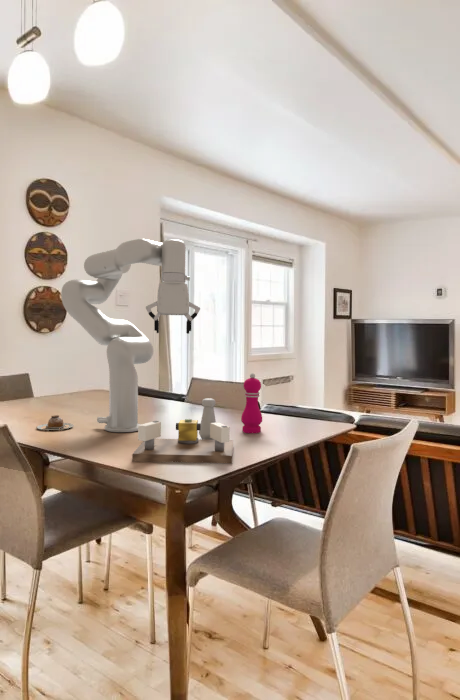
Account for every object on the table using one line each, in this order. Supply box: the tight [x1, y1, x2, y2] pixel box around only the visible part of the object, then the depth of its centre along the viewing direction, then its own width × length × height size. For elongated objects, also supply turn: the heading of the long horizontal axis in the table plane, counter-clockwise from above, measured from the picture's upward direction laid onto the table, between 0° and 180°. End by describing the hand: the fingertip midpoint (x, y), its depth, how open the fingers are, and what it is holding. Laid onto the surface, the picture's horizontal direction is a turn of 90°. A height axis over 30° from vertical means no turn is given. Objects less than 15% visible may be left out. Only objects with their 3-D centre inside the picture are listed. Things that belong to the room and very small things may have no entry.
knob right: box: [210, 421, 231, 451], centre depth 136 cm, size 7×3×7 cm, turn 27°
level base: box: [131, 418, 234, 464], centre depth 140 cm, size 26×19×9 cm
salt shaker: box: [198, 397, 217, 440], centre depth 158 cm, size 6×6×13 cm
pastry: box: [36, 414, 74, 432], centre depth 173 cm, size 12×12×5 cm
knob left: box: [137, 420, 162, 450], centre depth 136 cm, size 7×3×7 cm, turn 153°
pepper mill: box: [241, 373, 263, 434], centre depth 171 cm, size 7×7×20 cm
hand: (172, 333), depth 161 cm, fingers open, 9 cm apart
